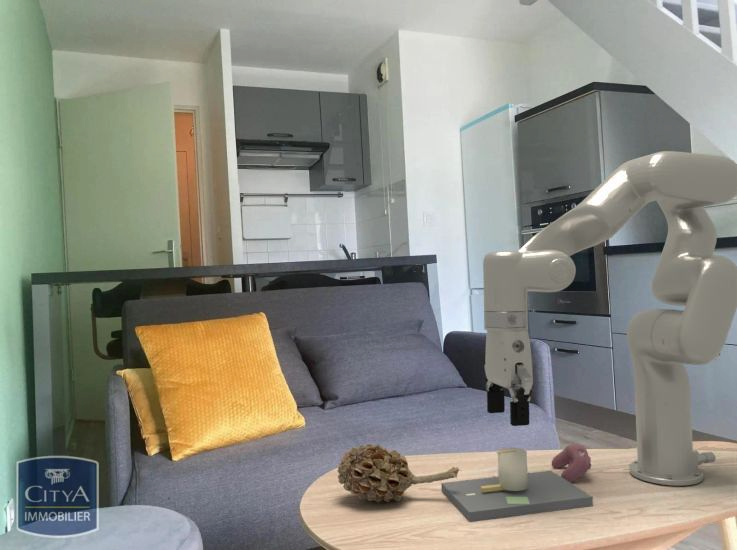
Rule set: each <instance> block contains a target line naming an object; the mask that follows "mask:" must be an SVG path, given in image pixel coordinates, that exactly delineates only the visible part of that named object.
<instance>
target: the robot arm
mask: <svg viewBox="0 0 737 550" xmlns="http://www.w3.org/2000/svg"><path fill="white" fill-rule="evenodd" d="M736 197H737V163H736V162H735V161H734V160H732V159H731V158H729V157H726V156H723V155H716V154H705V153H695V152H688V151H687V152H685V151H671V150H667V151H663V150H662V151H657V152H654V153H650V154H648V155H644V156H640V157H637V158H633V159H631V160H628V161H626V162H624V163H621V165H619V166H618V167H617V168H616V169H615V170H614V171H613V172H611V173H610V175H608V176H607V177H606V178H605V179H603V181H602V182H601V183H600V184H599V185H598V186H597V187H595V189H593V190H592V191H591V192H590V193H589V194H588V195H587V196H586V197H585V198H584V199H583V200H582V201H581V202H580V203H578V204H577V205H575V207H573V208H571V209H570V210H569V211H567V212H565V213H564V214H562V215H561V216H559V217H558V218H557V219H556V220H554V221H552V222H551V223H550V224H548V225H547V226H545V227H544V228H542V229H541V230H540V231H538V232H537V233H535V235H533V236H532V237H531V238H530V239H529V240H528V241H527V242H525V243H524V245H522V247H520V248H519V249H518V250H517V251H516V250H501V251H491V252H488V253H486V254H485V255H484V257H483V259H482V260H483V263H482V265H483V267H482V268H483V269H482V272H483V273H482V274H483V275H482V277H483V322H484V324H483V326H484V327H483V330H484V331H486V336H485V338H486V339H485V355H484V356H485V361H484V363H485V364H484V365H483V367H484V373H485V376H484V379H485V381H486V384H485V389H486V409H487V411H486V412H488V414H499V413H500V414H503V413H504V412H505V410H506V409H505V408H506V407H505V404H506V403H505V390H503V388H504V389H507V390H508V391H509V394H510V397H511V400H512V401H510V402H509V414H510V415H509V416H510V417H509V418H510V419H509V422H510V426H512V427H520V426H523V427H524V426H529V425H530V402H531V395H532V392H533V391H532V388H533V385H534V374H533V358H532V357H533V356H532V350H531V349H532V348H531V342H530V336H529V331H528V330H529V323H528V322H529V319H528V318H529V317H528V315H529V313H528V312H529V311H528V292H539V293H555V292H561V291H563V290H564V289H566V288H568V287H569V286H570V285H571V284H572V283H573V281H574V279H575V276H576V272H577V271H576V270H577V269H576V265H575V263H574V260H573V259H572V258H571V256H573V255H574V254H576V253H577V254H578V253H579V252H581V251H584V250H586V249H590V248H592V247H595V246H598V245H600V244H602V243H604V242H606V241H608V240H610V239H611V238H613V237H614V236H615V235H616V234H617V233H618V232H619V231H620V230H621V229H622V228H623V227H624V226H625V225H627V223H629V221H631V219H632V218H633V217H634V216H635V215H637V214H638V212H639V211H641V210H642V209H643V207H645V206H646V205H647V204H649V203H652V202H655V201H656V202H657V205H658V206H659V207H660V209H661V210H662V212H663V214H664V217H665V219H666V224H667V235H666V239H665V242H664V246H663V249H662V252H661V254H660V257H659V260H658V262H657V266H656V268H655V272H654V274H653V277H652V280H651V281H652V283H651V291H652V294H653V296H654V298H655V299H656V300H657V301H659V302H661V303H662V304H665V305H668V306H676V307H677V306H678V307H684V310H679V309H669V308H668V309H667V308H650V309H648V308H647V309H644V310H642V311H640V312H638V313H636V314H635V315H633V317H632V318H631V319H630V321H629V323H628V325H627V329H626V341H627V345H628V350H629V353H630V357H631V363H632V367H633V368H632V369H633V378H634V401H635V402H634V403H635V404H634V406H635V407H634V408H635V429H636V431H635V432H636V452H637V456H636V457H637V460H634V461H632V462H631V463H629V465H628V466H629V467H628V470H629V473H630V474H631V475H632V476H634V477H635V478H637V479H639V480H641V481H645V482H648V483H650V484H651V483H652V484H658V485H663V486H664V485H665V486H673V487H675V486H676V487H677V486H678V487H679V486H683V487H685V486H693V485H696V484H699V483H701V482H702V481H703V480H704V472H703V470H702V469H701V468H699V467H700V466H701V465H702V464H703V463H704V464H708V463H715V462H716V458H717V457H716V455H715V453H714V452H712V451H707V452H701V453H699V450H694V448H693V446H694V445H693V426H692V425H693V420H692V401H691V400H692V399H691V398H692V397H691V383H690V378H689V375H688V372H687V369H686V367H685V365H691V366H692V365H693V366H703V365H707V364H710V363H712V362H713V361H714V360H716V359H717V358H718V357H719V355H720V353H721V352H722V351H723V348H724V346H725V344H726V341H727V338H728V335H729V332H730V329H731V326H732V323H733V320H734V317H735V314H736V310H737V265H736V263H735V262H734V261H732V260H731V259H730V258H728V257H726V256H722V255H718V254H717V255H716V254H714V252H715V248H716V245H717V239H718V238H717V237H718V235H717V233H718V232H717V230H716V229H717V228H716V225H715V224H714V222H713V220H712V218H711V216H710V214H708V213H709V212H707V210H706V208H705V207H708V206H715V205H723V204H724V203H727V202H730V201H731V200H733V199H735V198H736ZM516 390H517V392H516Z"/></svg>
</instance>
